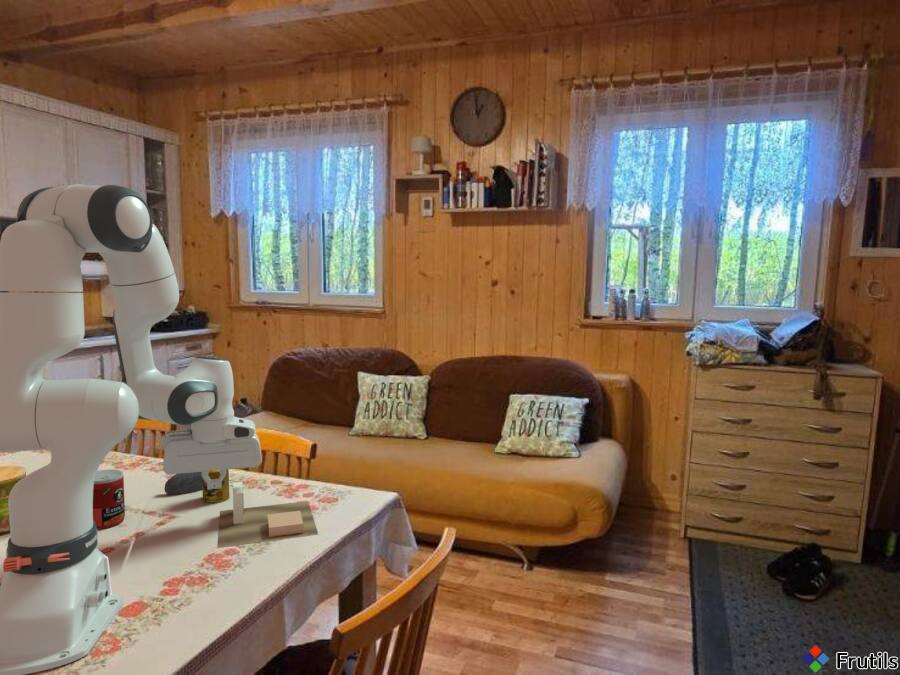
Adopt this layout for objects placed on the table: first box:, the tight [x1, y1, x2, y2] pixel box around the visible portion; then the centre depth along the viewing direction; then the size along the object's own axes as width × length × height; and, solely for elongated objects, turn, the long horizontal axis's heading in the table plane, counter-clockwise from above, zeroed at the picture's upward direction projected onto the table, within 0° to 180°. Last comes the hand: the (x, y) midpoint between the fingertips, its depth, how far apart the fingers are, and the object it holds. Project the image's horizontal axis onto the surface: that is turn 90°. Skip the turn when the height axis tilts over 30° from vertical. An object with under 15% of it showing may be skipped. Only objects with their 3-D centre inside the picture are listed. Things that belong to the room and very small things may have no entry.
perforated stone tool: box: [164, 472, 203, 496], centre depth 147 cm, size 15×5×7 cm, turn 132°
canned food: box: [93, 469, 126, 530], centre depth 129 cm, size 8×8×11 cm
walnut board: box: [217, 500, 319, 549], centre depth 129 cm, size 19×20×1 cm
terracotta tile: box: [267, 511, 303, 537], centre depth 125 cm, size 7×2×7 cm
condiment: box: [201, 469, 230, 505], centre depth 141 cm, size 7×8×12 cm
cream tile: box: [232, 481, 245, 524], centre depth 130 cm, size 7×2×7 cm, turn 20°
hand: (214, 488), depth 129 cm, fingers closed
